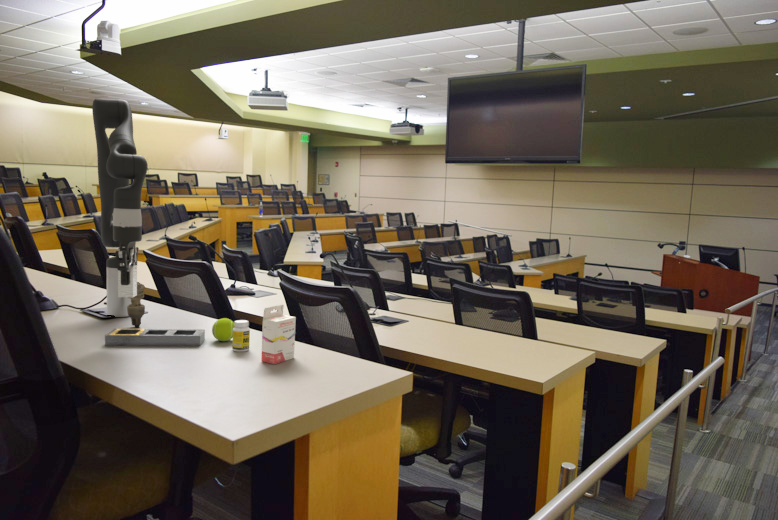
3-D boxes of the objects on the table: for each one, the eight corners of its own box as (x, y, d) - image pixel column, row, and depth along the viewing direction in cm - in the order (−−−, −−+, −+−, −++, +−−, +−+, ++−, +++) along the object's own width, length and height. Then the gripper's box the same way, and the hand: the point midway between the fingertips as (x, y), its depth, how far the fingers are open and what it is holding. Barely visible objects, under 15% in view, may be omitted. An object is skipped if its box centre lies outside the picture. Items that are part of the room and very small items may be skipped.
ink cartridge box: (275, 365, 148) (276, 310, 147) (260, 361, 151) (262, 308, 149) (295, 357, 156) (296, 305, 154) (281, 354, 158) (282, 303, 157)
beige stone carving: (139, 329, 179) (139, 283, 177) (123, 328, 179) (122, 282, 177) (147, 325, 185) (147, 280, 183) (131, 324, 185) (131, 280, 183)
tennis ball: (210, 344, 166) (211, 320, 165) (213, 338, 173) (213, 315, 172) (234, 343, 167) (235, 321, 167) (236, 338, 174) (237, 316, 173)
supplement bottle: (244, 352, 158) (245, 323, 158) (229, 351, 159) (229, 322, 158) (252, 348, 163) (252, 320, 162) (237, 347, 164) (237, 318, 163)
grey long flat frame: (114, 338, 167) (114, 328, 166) (204, 339, 171) (204, 329, 171) (105, 345, 159) (104, 334, 159) (200, 345, 163) (200, 335, 163)
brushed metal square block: (122, 294, 164) (122, 264, 163) (136, 295, 165) (136, 264, 164) (118, 297, 160) (118, 266, 159) (132, 297, 161) (132, 266, 160)
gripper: (121, 223, 166) (121, 279, 168) (105, 225, 152) (105, 287, 154) (147, 224, 168) (147, 280, 169) (134, 226, 154) (134, 287, 155)
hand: (127, 283), depth 162 cm, fingers closed on brushed metal square block, 4 cm apart
